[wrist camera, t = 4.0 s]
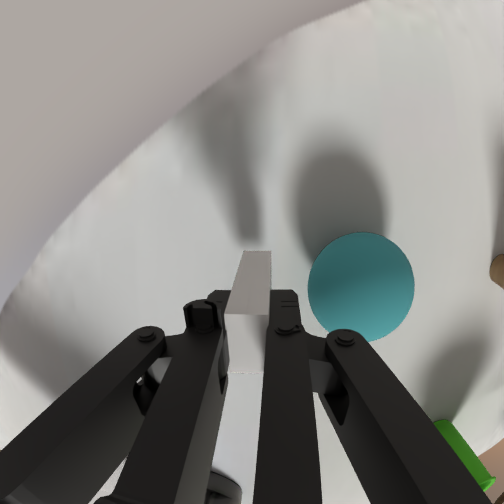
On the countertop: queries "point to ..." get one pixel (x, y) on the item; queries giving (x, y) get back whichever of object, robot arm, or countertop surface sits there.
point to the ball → (361, 285)
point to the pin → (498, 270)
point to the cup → (465, 454)
